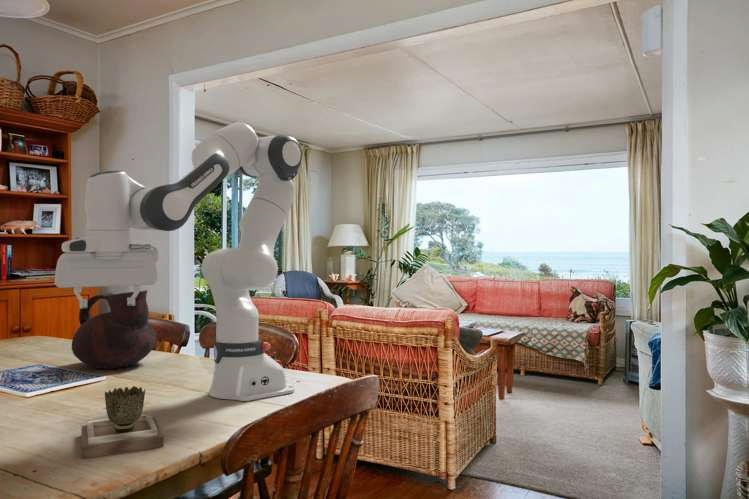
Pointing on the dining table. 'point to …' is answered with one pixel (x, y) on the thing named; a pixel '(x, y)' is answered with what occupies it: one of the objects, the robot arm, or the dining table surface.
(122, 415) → the cup
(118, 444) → the plate
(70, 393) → the dining table surface
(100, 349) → the jug
